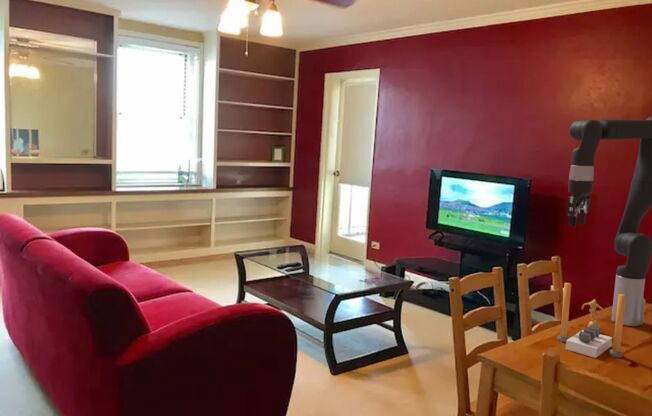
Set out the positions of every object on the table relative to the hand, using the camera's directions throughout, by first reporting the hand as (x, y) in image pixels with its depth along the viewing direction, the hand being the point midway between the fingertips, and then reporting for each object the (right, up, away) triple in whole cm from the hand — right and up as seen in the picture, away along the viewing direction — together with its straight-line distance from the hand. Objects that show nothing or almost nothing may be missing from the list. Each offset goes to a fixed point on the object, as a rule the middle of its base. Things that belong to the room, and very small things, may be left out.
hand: (576, 225), depth 189 cm
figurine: (+5, -37, -1) cm, 37 cm away
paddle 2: (0, -35, -13) cm, 37 cm away
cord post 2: (+3, -39, -20) cm, 44 cm away
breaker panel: (-3, -38, -15) cm, 41 cm away
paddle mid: (-3, -35, -15) cm, 38 cm away
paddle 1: (-6, -35, -18) cm, 40 cm away
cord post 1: (-9, -37, -9) cm, 40 cm away
